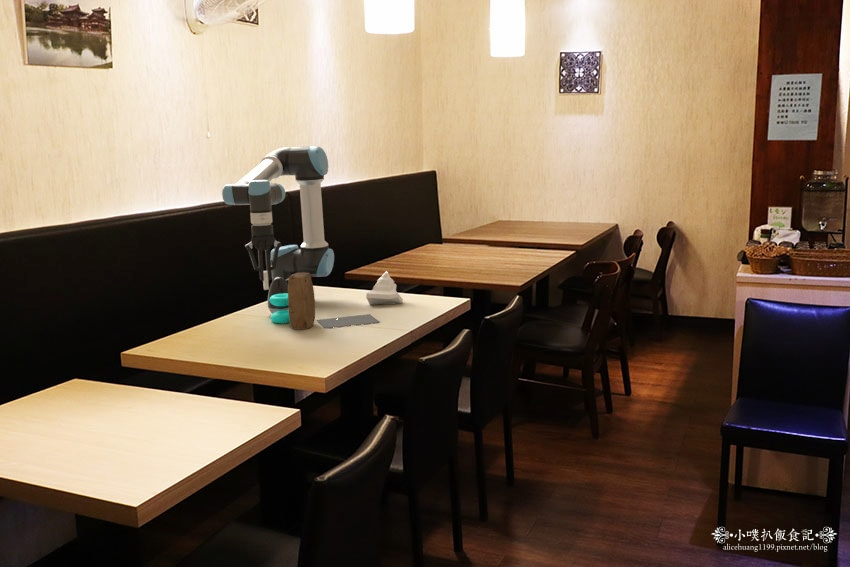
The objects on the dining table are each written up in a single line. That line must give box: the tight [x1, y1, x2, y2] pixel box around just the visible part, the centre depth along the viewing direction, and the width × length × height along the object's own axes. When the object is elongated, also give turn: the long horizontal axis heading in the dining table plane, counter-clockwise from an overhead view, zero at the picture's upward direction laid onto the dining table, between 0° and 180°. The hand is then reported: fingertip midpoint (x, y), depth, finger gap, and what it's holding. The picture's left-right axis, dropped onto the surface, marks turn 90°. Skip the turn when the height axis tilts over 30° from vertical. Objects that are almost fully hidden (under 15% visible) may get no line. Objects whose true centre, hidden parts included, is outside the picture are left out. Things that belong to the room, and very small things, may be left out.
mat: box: [316, 313, 380, 329], centre depth 298 cm, size 14×21×1 cm, turn 110°
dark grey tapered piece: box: [267, 277, 289, 315], centre depth 311 cm, size 10×10×15 cm
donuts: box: [269, 293, 290, 324], centre depth 301 cm, size 10×10×10 cm
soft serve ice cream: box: [365, 270, 404, 305], centre depth 327 cm, size 12×15×14 cm
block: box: [288, 272, 316, 330], centre depth 290 cm, size 11×8×20 cm
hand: (266, 289), depth 285 cm, fingers closed
